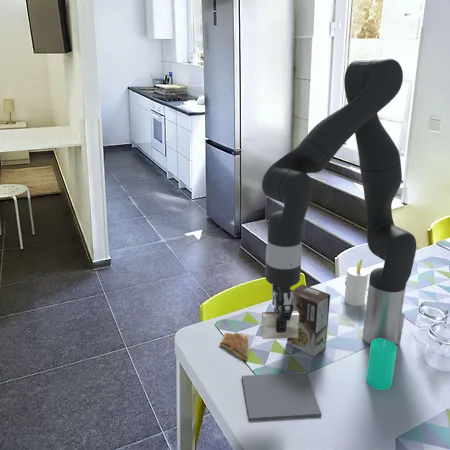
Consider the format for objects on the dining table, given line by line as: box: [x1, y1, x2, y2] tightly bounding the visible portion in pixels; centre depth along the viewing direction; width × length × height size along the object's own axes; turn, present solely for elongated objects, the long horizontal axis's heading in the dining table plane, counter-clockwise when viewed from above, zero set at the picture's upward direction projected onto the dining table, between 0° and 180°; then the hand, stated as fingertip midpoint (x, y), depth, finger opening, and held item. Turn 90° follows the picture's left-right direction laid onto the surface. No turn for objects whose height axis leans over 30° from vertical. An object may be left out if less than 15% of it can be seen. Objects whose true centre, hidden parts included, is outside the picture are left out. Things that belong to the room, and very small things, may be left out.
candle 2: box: [365, 338, 398, 391], centre depth 111 cm, size 6×6×12 cm
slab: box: [261, 311, 299, 340], centre depth 105 cm, size 8×2×6 cm, turn 95°
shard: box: [219, 332, 249, 361], centre depth 125 cm, size 11×8×2 cm
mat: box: [241, 371, 322, 421], centre depth 108 cm, size 16×14×1 cm
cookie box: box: [286, 283, 331, 357], centre depth 124 cm, size 9×6×16 cm
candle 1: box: [343, 259, 369, 307], centre depth 146 cm, size 6×6×15 cm
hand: (280, 328), depth 105 cm, fingers closed on slab, 1 cm apart
